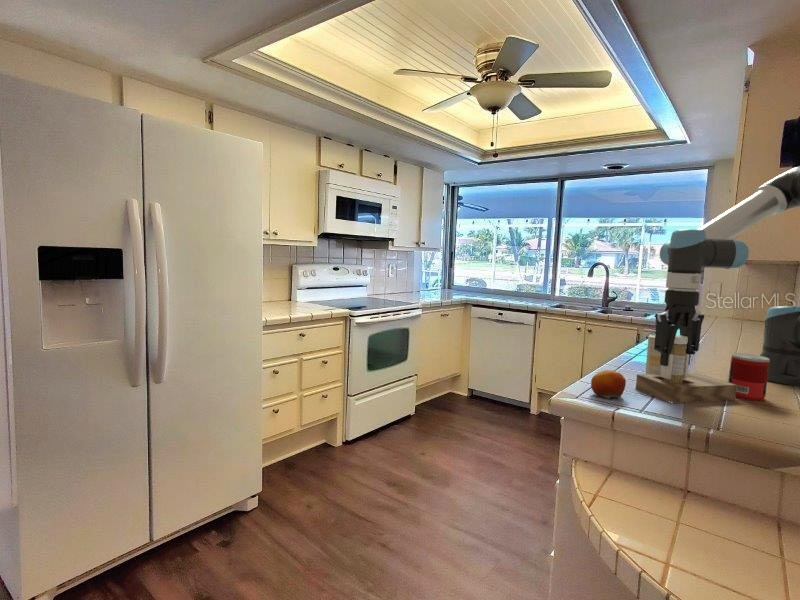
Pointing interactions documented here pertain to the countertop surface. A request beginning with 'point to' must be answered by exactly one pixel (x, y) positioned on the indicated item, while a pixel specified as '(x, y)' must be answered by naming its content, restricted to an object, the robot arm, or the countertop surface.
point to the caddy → (687, 388)
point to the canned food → (749, 375)
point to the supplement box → (652, 357)
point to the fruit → (608, 384)
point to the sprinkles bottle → (678, 359)
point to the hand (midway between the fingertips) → (673, 377)
